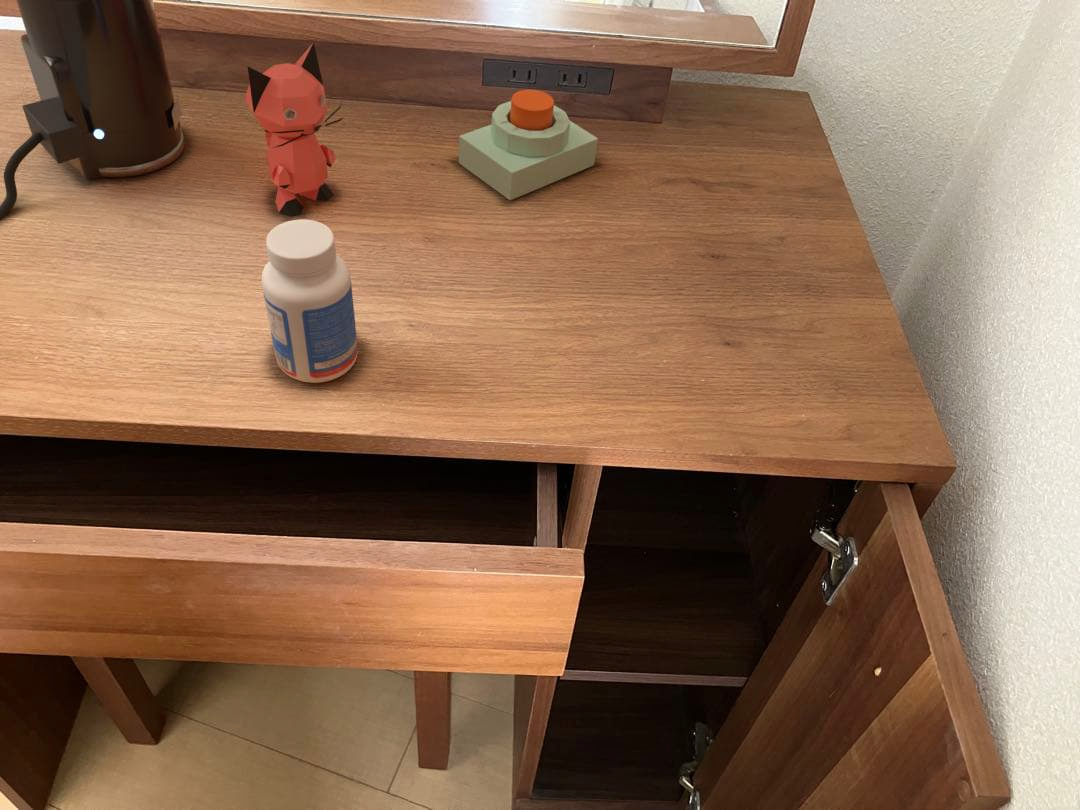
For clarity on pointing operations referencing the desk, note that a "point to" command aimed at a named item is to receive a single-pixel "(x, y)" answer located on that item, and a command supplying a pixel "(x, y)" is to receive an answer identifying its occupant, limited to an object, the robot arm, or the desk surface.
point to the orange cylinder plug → (531, 110)
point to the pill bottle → (309, 302)
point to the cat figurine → (293, 129)
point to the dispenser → (525, 153)
